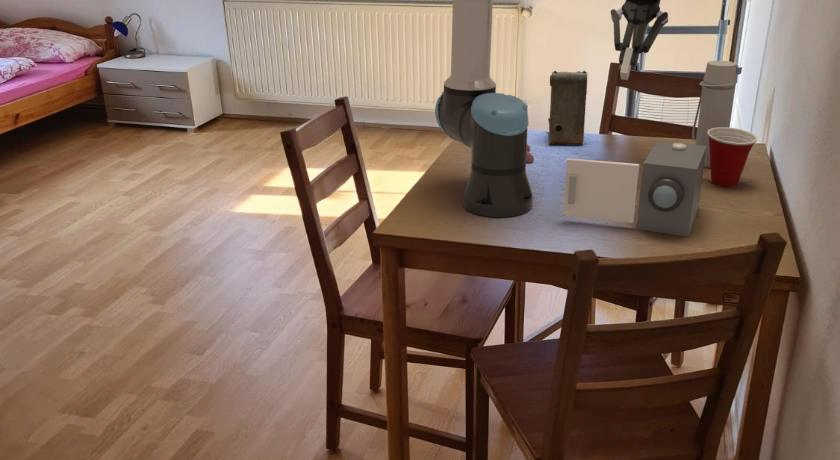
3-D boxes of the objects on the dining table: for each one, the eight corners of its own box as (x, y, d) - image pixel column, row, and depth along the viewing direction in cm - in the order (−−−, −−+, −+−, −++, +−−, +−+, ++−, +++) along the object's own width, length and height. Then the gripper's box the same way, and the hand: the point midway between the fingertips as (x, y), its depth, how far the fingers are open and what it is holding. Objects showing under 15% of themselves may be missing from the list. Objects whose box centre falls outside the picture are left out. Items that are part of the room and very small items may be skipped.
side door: (633, 220, 157) (639, 164, 152) (632, 224, 155) (638, 167, 151) (564, 213, 161) (567, 158, 157) (562, 217, 160) (566, 161, 155)
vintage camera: (579, 132, 223) (582, 62, 215) (584, 146, 208) (588, 71, 201) (545, 132, 224) (547, 62, 216) (548, 146, 209) (550, 72, 202)
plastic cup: (730, 194, 174) (738, 143, 169) (690, 181, 182) (697, 132, 177) (760, 185, 179) (768, 134, 175) (720, 172, 188) (727, 124, 183)
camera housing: (686, 241, 151) (695, 169, 145) (632, 233, 155) (639, 162, 149) (698, 208, 166) (707, 142, 161) (648, 202, 170) (656, 137, 165)
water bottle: (730, 165, 193) (745, 63, 183) (710, 171, 189) (724, 68, 179) (699, 155, 200) (712, 57, 190) (679, 161, 196) (691, 61, 186)
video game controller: (515, 157, 206) (504, 134, 203) (531, 150, 205) (520, 127, 203) (519, 169, 197) (507, 146, 194) (535, 161, 196) (524, 138, 193)
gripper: (675, 1, 178) (655, 88, 171) (618, -2, 183) (596, 83, 176) (675, -21, 172) (653, 68, 164) (615, -23, 177) (592, 63, 169)
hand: (623, 76), depth 170 cm, fingers closed
